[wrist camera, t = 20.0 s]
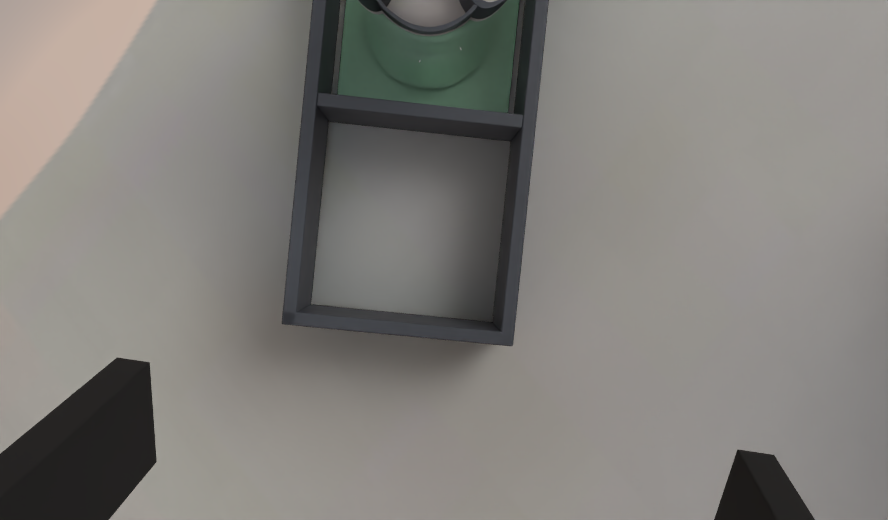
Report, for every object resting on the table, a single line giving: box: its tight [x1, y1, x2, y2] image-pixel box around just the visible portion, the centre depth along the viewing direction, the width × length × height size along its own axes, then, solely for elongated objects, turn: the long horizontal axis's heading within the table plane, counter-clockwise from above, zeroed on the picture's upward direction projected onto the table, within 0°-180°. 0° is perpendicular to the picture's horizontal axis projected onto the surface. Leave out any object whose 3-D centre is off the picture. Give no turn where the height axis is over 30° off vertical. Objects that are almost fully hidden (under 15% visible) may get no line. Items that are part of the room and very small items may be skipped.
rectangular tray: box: [282, 0, 549, 346], centre depth 29 cm, size 10×20×4 cm, turn 174°
